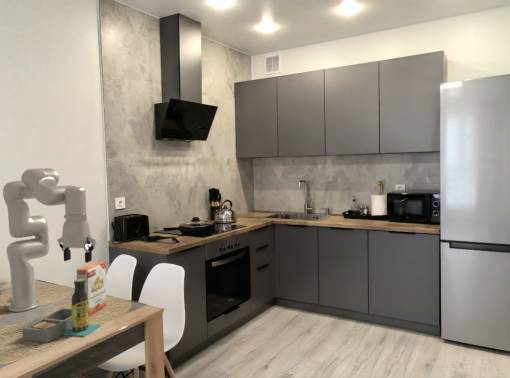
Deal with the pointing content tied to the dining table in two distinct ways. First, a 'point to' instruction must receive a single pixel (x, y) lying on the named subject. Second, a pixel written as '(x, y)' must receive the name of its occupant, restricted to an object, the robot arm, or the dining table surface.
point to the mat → (81, 333)
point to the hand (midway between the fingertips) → (77, 261)
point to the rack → (42, 335)
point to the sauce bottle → (80, 307)
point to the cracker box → (94, 285)
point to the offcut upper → (44, 325)
